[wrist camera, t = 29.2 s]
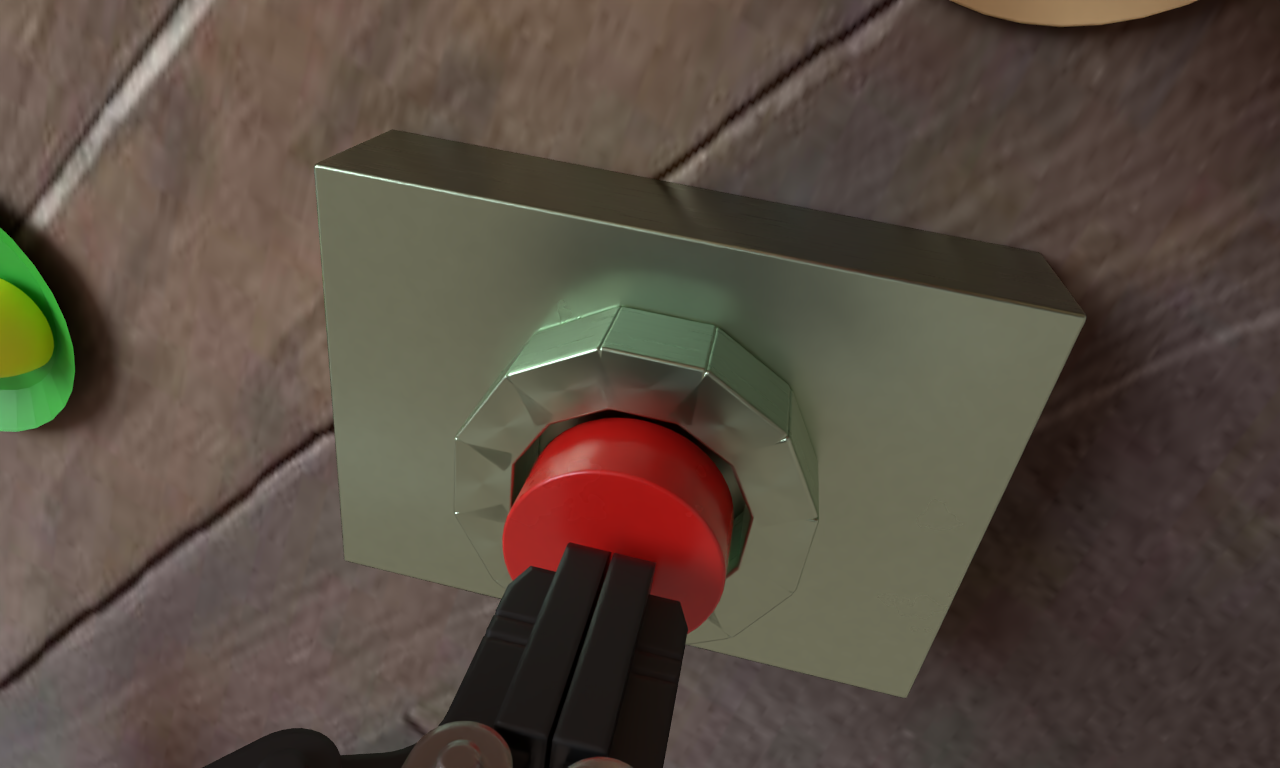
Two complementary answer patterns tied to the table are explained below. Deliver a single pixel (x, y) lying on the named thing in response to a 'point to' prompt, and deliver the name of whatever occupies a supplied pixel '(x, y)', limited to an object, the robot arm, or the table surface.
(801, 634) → the control block
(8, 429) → the lemon halves on plate
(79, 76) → the table surface
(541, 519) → the button
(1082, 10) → the coaster
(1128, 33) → the table surface
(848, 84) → the table surface
